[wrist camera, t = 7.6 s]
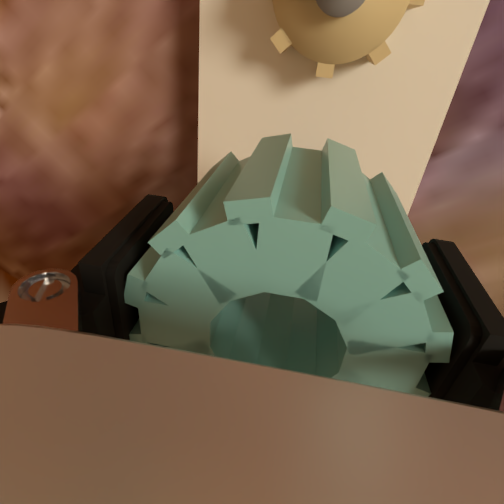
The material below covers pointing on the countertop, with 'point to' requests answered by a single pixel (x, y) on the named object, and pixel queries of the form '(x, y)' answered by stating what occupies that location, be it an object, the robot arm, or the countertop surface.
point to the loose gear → (295, 271)
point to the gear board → (333, 78)
